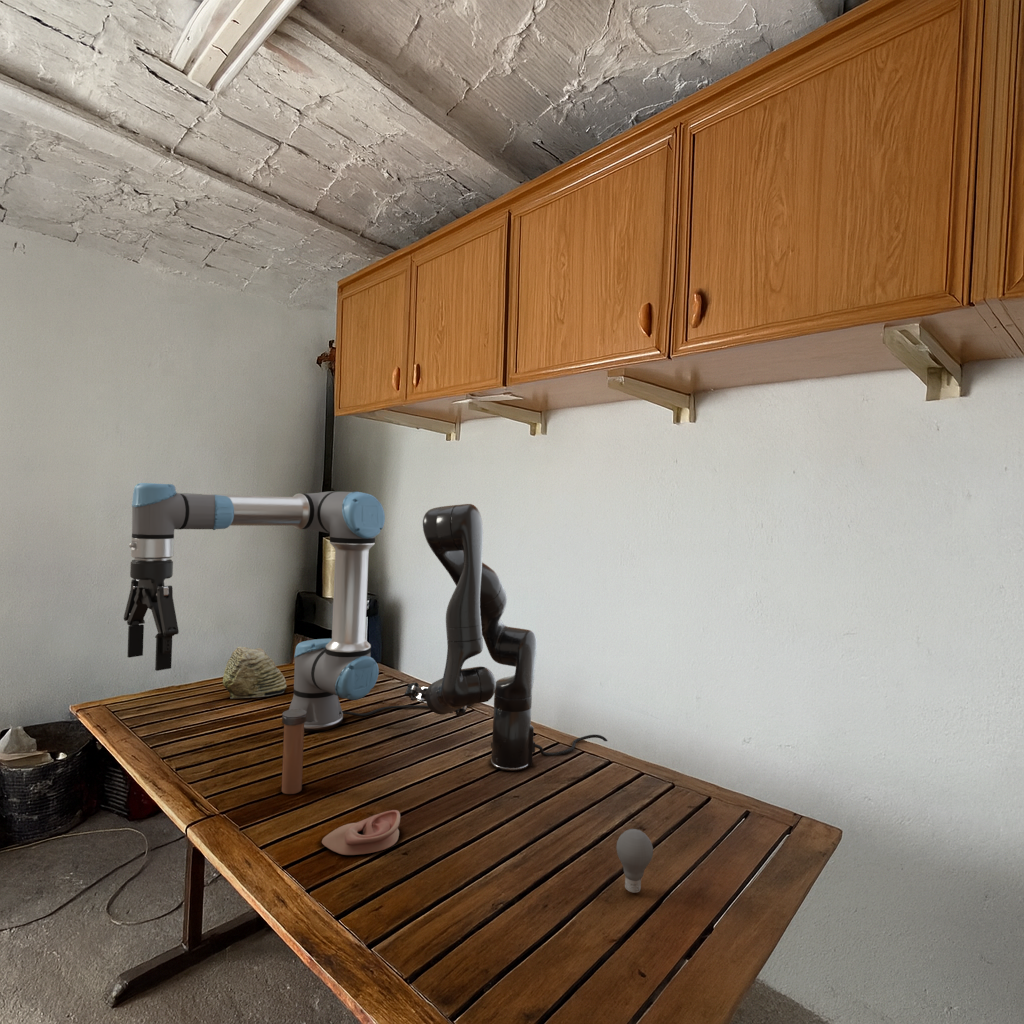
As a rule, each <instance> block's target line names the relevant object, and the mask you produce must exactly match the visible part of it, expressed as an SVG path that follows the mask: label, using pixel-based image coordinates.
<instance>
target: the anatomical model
mask: <svg viewBox="0 0 1024 1024" xmlns="http://www.w3.org/2000/svg"><path fill="white" fill-rule="evenodd" d="M400 823H401V813H400V811H399V810H397V809H392V810H391V809H390V810H387V811H383V812H380V813H377V814H373V815H371V816H369V817H367V818H365V819H362V820H360V821H356V822H349V823H346V824H344V825H341V826H339V827H337V828H335V829H334V830H332V831H331V832H329V833H328V834H326V835H325V836H324V837H323V838H322V840H321V844H322V845H323V846H324V847H325V848H327V849H328V850H330V851H332V852H334V853H337V854H339V855H342V856H356V855H357V856H358V855H366V854H371V853H378V852H382V851H383V850H386V849H388V848H390V847H392V846H394V845H395V844H396V843H397V842H398V840H399V836H400V830H399V827H400Z"/></svg>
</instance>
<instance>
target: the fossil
mask: <svg viewBox="0 0 1024 1024" xmlns="http://www.w3.org/2000/svg"><path fill="white" fill-rule="evenodd" d="M222 676H223V677H222V685H223V687H224V688H225V690H226V691H228V693H229V698H230V699H250V698H264V697H271V696H275V695H281V694H284V693H285V691H286V689H287V687H288V686H287V680H286V678H285V676H284V674H283V673H282V672H281V669H279V668H278V667H277V665H276V663H275V662H274V660H273V659H272V658H271V657H270V656H269V655H268V654H267V653H266V652H265V650H264V649H263V648H260V647H258V648H251V647H247V646H246V647H245V646H238V647H237V648H236V649H235V650H233V651H232V653H231V656H230V657H229V659H228V660H227V663H226V666H225V668H224V671H223V675H222Z"/></svg>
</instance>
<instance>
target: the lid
mask: <svg viewBox="0 0 1024 1024" xmlns="http://www.w3.org/2000/svg"><path fill="white" fill-rule="evenodd" d="M281 716H282V717H281V722H282V724H283V725H284V724H286V725H299V724H302V723H305V722H306V717H307V712H306V711H305V710H302V709H291V710H289V709H287V710H284V711H282V715H281Z"/></svg>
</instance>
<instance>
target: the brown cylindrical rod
mask: <svg viewBox="0 0 1024 1024" xmlns="http://www.w3.org/2000/svg"><path fill="white" fill-rule="evenodd" d="M282 742H283V743H282V745H283V746H282V765H281V766H282V767H281V792H282V794H285V795H295V794H298V793H300V792H301V791H302V789H303V767H304V766H303V765H304V743H305V732H304V723H302V724H299V725H286V724H283V739H282Z"/></svg>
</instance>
